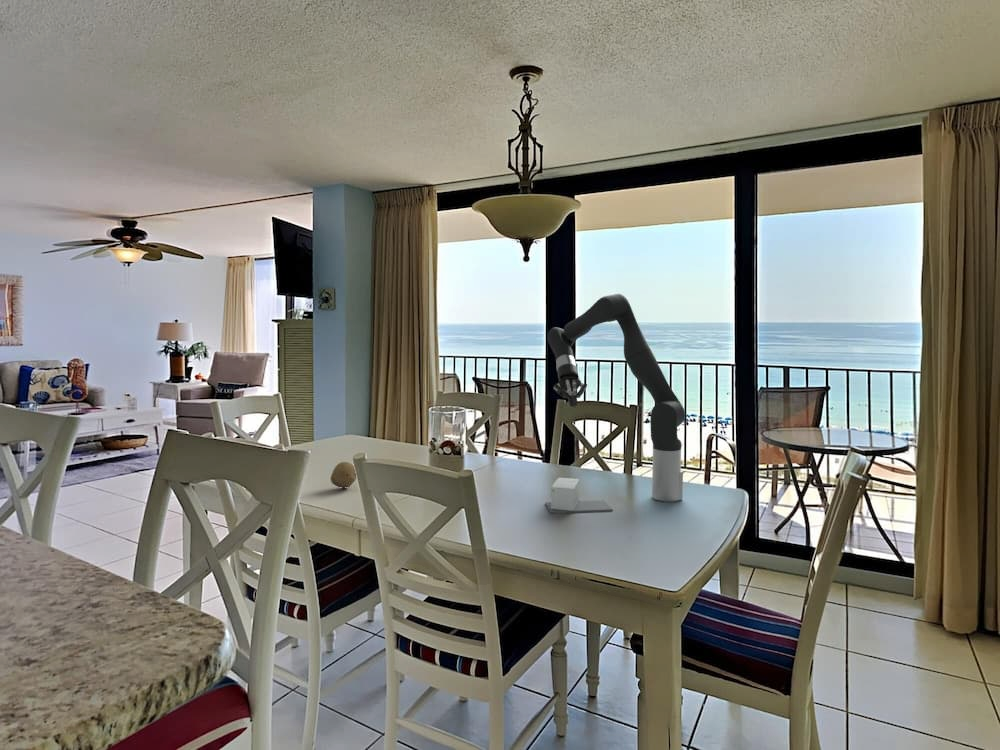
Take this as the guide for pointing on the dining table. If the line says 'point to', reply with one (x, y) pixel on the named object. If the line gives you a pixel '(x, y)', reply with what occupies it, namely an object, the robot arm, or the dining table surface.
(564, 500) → the supplement box
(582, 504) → the mat
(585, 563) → the dining table surface
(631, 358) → the robot arm
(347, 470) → the natural sponge
